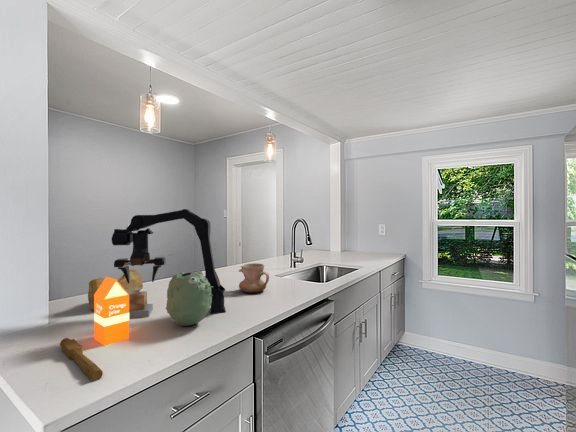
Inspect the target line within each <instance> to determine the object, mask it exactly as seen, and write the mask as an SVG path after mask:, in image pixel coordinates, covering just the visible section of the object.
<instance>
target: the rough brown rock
mask: <svg viewBox="0 0 576 432" xmlns="http://www.w3.org/2000/svg"><path fill="white" fill-rule="evenodd" d="M129 275H130V283H129V284H128V282H127V280H126V277H125V275H124V274H123V275H122V276H120V277H119V278H118V279H116V280H117V281H118V283H119V284H120V285H121V286H122V287H123V289H124V290H125V291H126V292H127V293H128V294H130V293H131V292H141V290H142V289H143V287H144V286H143V280H142V276H141V274H140V273H139V272H138V271H137V270H136V269H129ZM104 280H105V278H102V277H100V278H93V279H91V280H90V281H89V283H88V292H87V301H88V306H89V308H90V309H91V310H94V294H95V293H96V291H97V290H98V288H99V287H100V285H101V284H102V283H103V281H104Z"/></svg>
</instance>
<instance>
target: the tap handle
mask: <svg viewBox="0 0 576 432" xmlns="http://www.w3.org/2000/svg"><path fill="white" fill-rule="evenodd" d="M59 346H60V347H61V352H62V353H63V354H64V356H65V357H66V358H67V359H68V360H73V361H75V362H76V364H77V365H78V367H79V368H80V369H81V370H82V371H83V373H84V375H86V377H87V378H88V379H89V380H90V381H91V382H97V381H99V380H101V379H102V377H103V375H104V371H103V370H102V369H101V368H100V367H99V366H98V365H97V364H96V363H95V362H94V361H92V360H91V359H90V358H89V357H87V355H85V354H84V353H83V349H82V345H81V344H80V343H79V342H78V341H76V340H75V338H72V339H70V338H68V337H65V338H62V340H61V341H60V343H59Z"/></svg>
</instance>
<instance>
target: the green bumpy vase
mask: <svg viewBox="0 0 576 432" xmlns="http://www.w3.org/2000/svg"><path fill="white" fill-rule="evenodd" d="M211 288H213V286H210V283H209V282H208V280H207V278H206V277H205V275H204V273H203V271H201V270H198V271H196V272H194V271H193V272H192V271H190V272H183V271H181V272H179V273H175V274H174V275H172V277H171V279H170V280H169V282H168V288H167V290H166V307H165V310H166V311H167V314H168V315H169V316H170V318H171V319H172V320H173V321H174V322H175V323H177V324H178V325H181V326H184V327H188V326H193V325H196V324H198V323H200V322H201V321H203V320H204V319H205V318H206V316H207V315H208V313H209V312H210V308H211V303H212V296H213V295H212V294H211Z"/></svg>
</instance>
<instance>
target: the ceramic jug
mask: <svg viewBox="0 0 576 432" xmlns="http://www.w3.org/2000/svg"><path fill="white" fill-rule="evenodd" d="M264 269H265V265H264V264H263V263H257V262H255V263H254V262H253V263H252V262H251V263H244V264H241V267H240V268H239V269H238V272H239V273H242V274H243V276H244V277H243V278H244V279H243V280H241V281H240V282H239V284H238V288H239V290H241V291H242V292H244V293H246V294H248V293H249V294H254V293H261V292H263V291H264V290H266V288H267V285H268V283H269V281H270V275H269V273H268V272H267V271H264ZM263 275H265V277H266V279H265V281H264V280H262V278H261V277H262V276H263Z"/></svg>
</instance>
